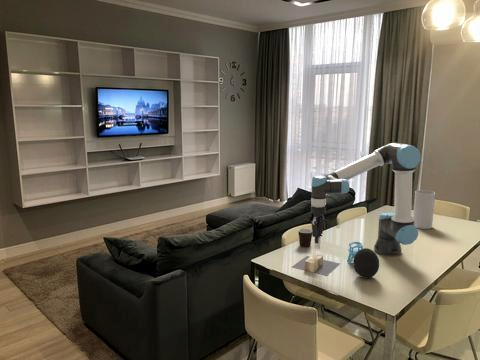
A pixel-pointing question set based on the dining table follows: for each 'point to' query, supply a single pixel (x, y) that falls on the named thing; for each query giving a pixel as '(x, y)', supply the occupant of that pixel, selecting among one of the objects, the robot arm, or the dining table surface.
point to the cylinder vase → (423, 209)
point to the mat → (322, 270)
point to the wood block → (313, 263)
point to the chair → (353, 251)
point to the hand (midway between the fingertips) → (317, 248)
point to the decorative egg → (366, 263)
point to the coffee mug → (305, 237)
